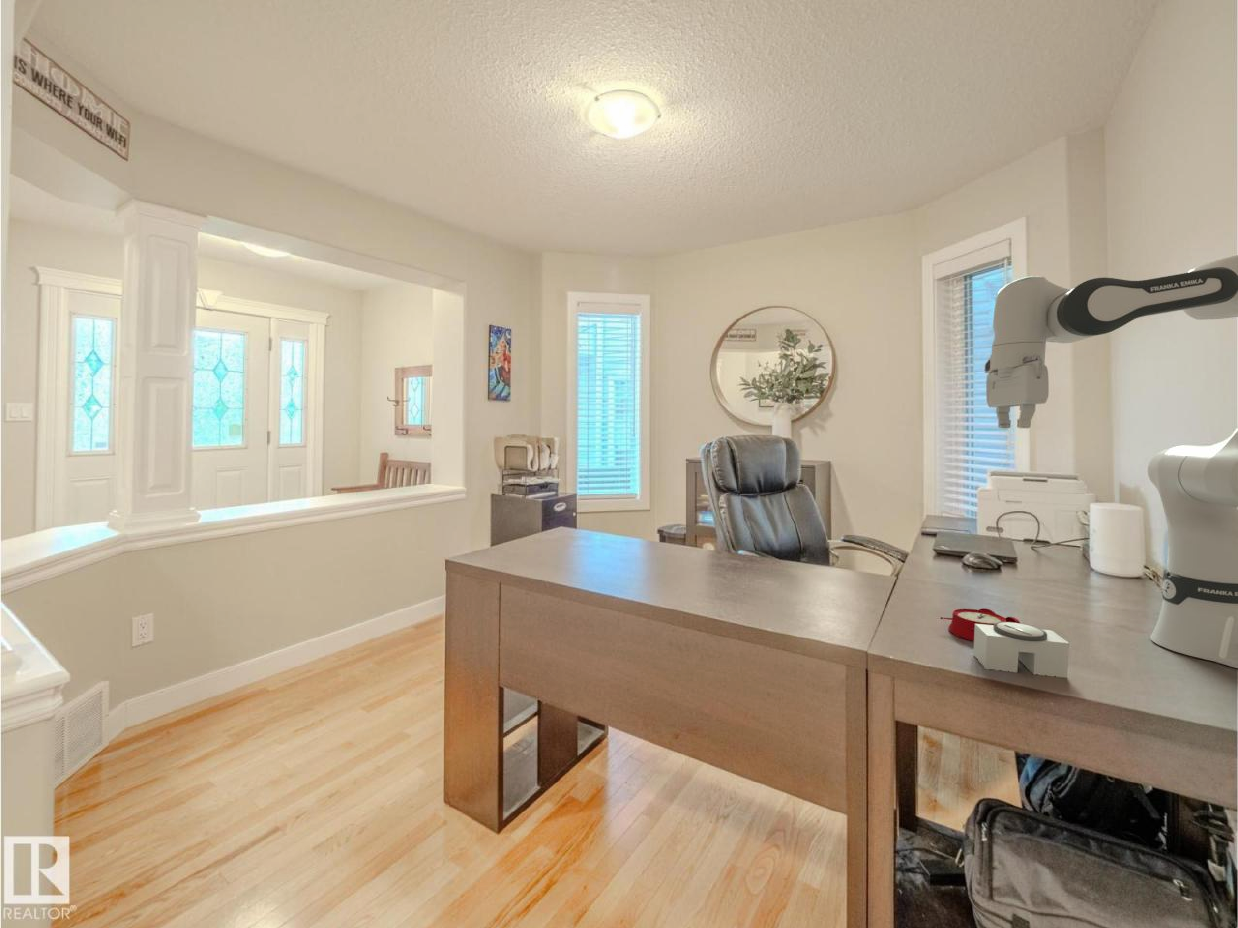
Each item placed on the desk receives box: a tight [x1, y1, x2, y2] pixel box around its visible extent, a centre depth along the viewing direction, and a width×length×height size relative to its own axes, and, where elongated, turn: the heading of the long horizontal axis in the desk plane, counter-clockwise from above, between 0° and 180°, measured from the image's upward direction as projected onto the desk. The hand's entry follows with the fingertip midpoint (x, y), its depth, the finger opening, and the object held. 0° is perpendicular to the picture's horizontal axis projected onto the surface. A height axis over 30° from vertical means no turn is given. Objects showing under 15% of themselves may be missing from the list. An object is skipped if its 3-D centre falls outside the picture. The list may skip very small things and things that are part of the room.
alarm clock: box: [940, 607, 1021, 642], centre depth 111 cm, size 10×6×15 cm
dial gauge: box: [972, 622, 1070, 679], centre depth 96 cm, size 12×8×7 cm, turn 74°
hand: (1013, 428), depth 111 cm, fingers open, 8 cm apart
